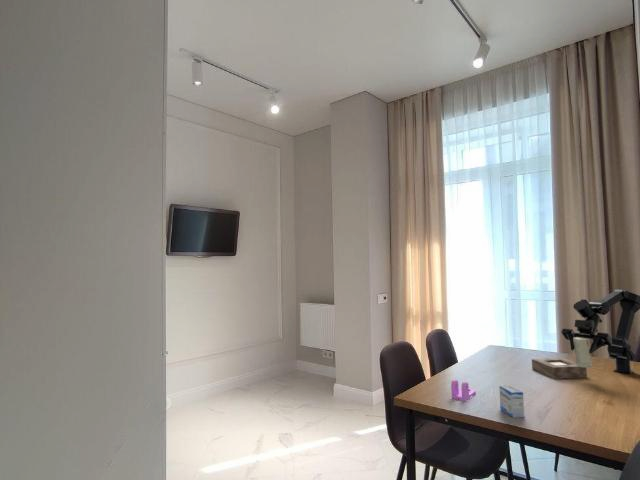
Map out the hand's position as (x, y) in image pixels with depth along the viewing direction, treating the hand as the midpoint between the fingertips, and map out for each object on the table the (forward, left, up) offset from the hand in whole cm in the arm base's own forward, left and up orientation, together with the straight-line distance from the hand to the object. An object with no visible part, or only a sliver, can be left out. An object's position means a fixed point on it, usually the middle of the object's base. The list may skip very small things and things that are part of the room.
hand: (580, 351), depth 166 cm
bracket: (+54, -26, -14) cm, 62 cm away
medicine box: (+59, -5, -14) cm, 61 cm away
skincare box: (-1, 0, -7) cm, 7 cm away
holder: (-7, -12, -13) cm, 19 cm away
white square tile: (-7, -12, -10) cm, 17 cm away
